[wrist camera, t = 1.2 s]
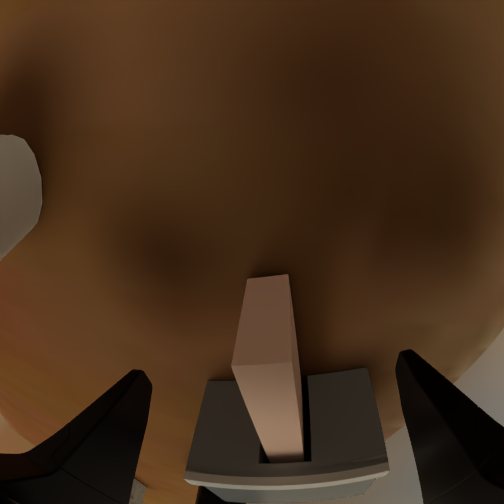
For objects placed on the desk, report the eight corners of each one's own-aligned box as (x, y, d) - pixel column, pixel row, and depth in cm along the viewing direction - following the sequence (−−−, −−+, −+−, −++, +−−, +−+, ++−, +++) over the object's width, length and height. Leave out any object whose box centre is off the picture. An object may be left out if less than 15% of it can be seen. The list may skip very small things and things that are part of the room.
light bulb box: (99, 461, 35) (83, 502, 25) (128, 472, 34) (113, 516, 24) (121, 478, 39) (109, 514, 30) (148, 487, 38) (137, 525, 29)
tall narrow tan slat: (303, 401, 16) (304, 467, 12) (276, 403, 16) (273, 469, 12) (288, 274, 12) (291, 361, 7) (247, 278, 12) (231, 365, 8)
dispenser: (355, 425, 18) (364, 499, 12) (235, 434, 20) (224, 506, 13) (366, 366, 15) (389, 470, 8) (207, 380, 16) (183, 478, 10)
